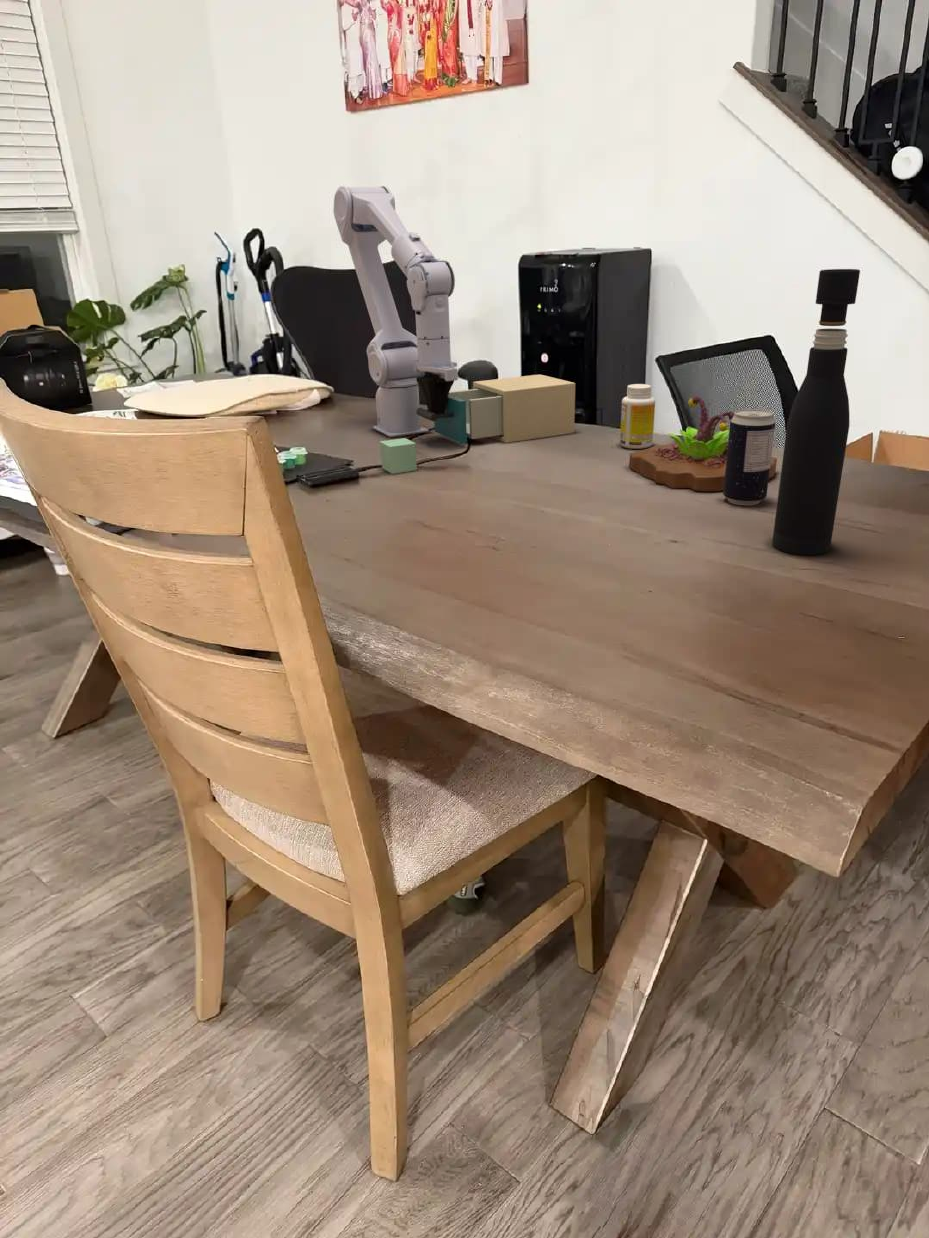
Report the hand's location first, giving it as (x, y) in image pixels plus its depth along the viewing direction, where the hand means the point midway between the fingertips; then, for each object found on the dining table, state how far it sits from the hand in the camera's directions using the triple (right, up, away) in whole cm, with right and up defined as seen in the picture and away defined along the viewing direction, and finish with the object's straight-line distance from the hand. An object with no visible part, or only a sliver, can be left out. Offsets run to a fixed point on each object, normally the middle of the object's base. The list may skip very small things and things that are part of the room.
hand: (436, 417), depth 151 cm
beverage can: (+43, -20, -35) cm, 59 cm away
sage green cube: (-6, -12, -14) cm, 19 cm away
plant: (+41, -14, -21) cm, 48 cm away
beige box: (+16, -1, +9) cm, 18 cm away
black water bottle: (+44, -28, -52) cm, 74 cm away
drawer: (+6, -2, +4) cm, 7 cm away
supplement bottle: (+35, -6, -4) cm, 36 cm away
